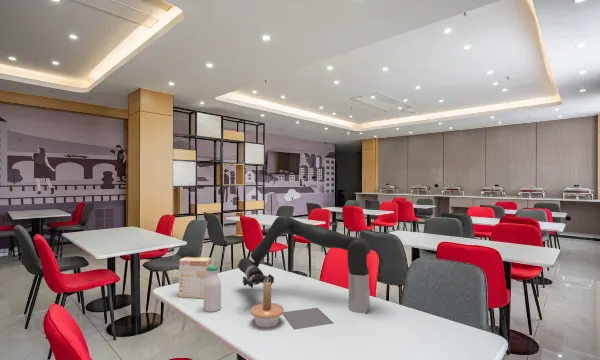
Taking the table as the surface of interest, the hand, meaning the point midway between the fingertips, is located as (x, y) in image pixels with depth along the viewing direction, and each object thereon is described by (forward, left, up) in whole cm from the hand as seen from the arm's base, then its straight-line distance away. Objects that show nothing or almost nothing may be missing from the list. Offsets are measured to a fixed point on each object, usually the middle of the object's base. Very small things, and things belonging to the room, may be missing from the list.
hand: (261, 284), depth 146 cm
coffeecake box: (+44, -5, -14) cm, 46 cm away
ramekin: (-7, +7, -14) cm, 17 cm away
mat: (-20, -5, -13) cm, 25 cm away
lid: (-7, +7, -8) cm, 13 cm away
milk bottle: (+24, +5, -14) cm, 28 cm away
